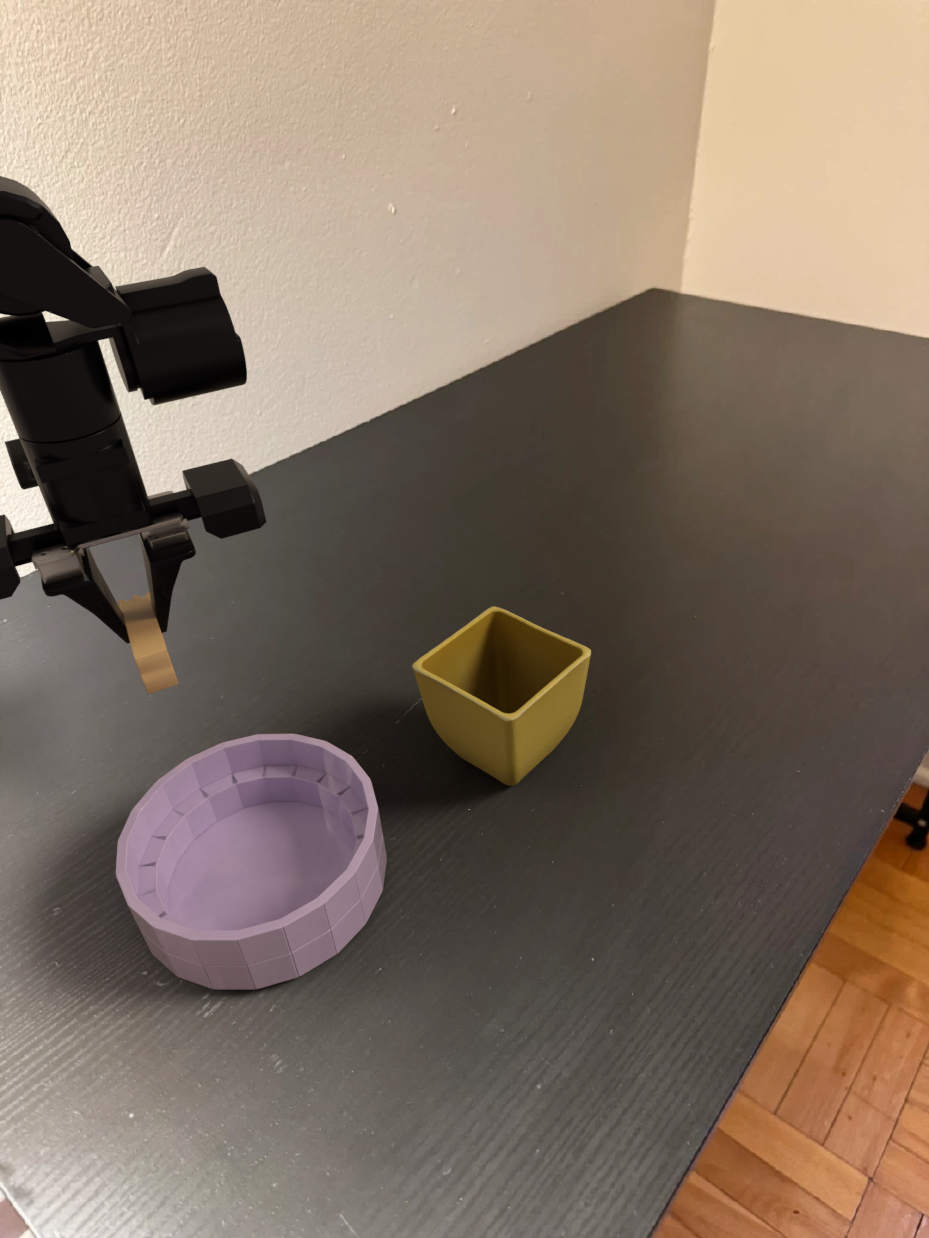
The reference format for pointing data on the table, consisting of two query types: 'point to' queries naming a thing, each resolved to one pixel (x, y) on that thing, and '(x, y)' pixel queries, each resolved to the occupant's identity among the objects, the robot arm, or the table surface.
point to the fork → (148, 644)
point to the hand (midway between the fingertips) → (146, 634)
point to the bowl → (253, 860)
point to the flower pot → (503, 692)
